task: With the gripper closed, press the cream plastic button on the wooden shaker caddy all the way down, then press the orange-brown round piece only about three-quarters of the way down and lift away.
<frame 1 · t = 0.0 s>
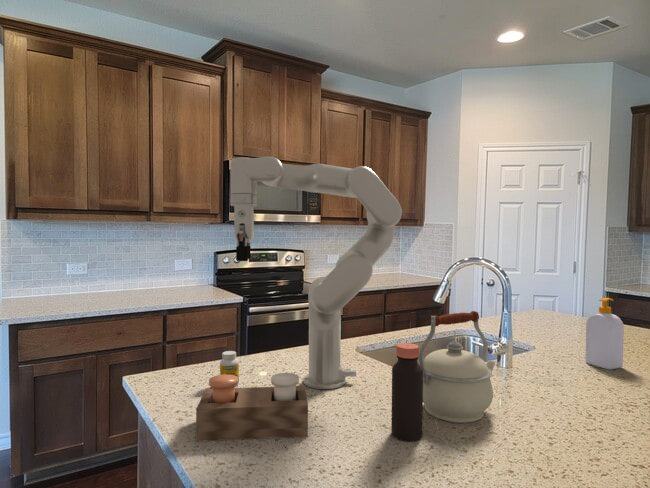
hand: (243, 259, 127), 37 cm above the countertop, tool pointing down, fingers open, 9 cm apart
wooden shaker caddy: (254, 426, 101), on the countertop
vinegar: (406, 435, 97), on the countertop
kettle: (458, 410, 111), on the countertop
cream button: (284, 390, 101), point 8 cm above the countertop, slide at 0.0 cm
soap bottle: (604, 365, 149), on the countertop
supplement bottle: (229, 385, 128), on the countertop
orange-brown round piece: (223, 392, 100), point 8 cm above the countertop, slide at 0.0 cm
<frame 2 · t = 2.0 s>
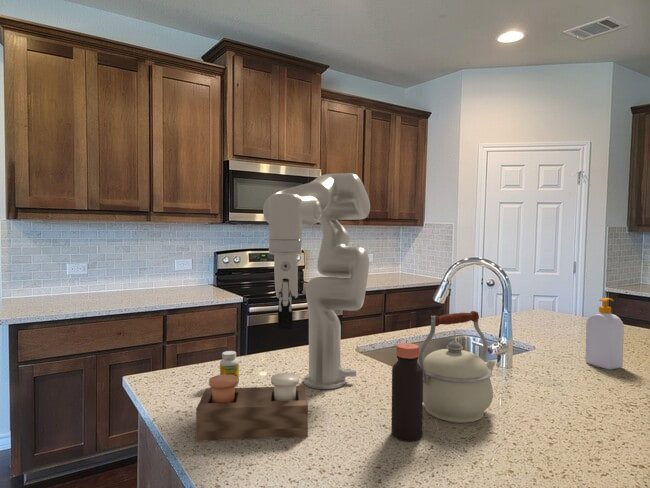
hand: (285, 325, 101), 23 cm above the countertop, tool pointing down, fingers open, 5 cm apart
nothing on the countertop moved.
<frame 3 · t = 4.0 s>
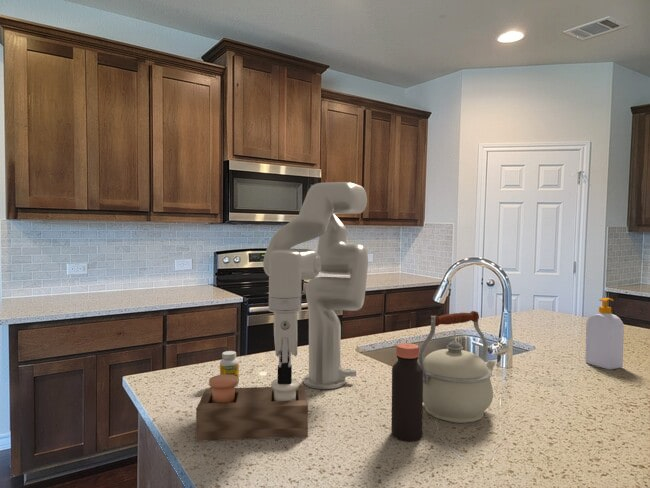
hand: (284, 382, 101), 10 cm above the countertop, tool pointing down, fingers closed
cream button: (284, 395, 101), point 7 cm above the countertop, slide at 1.3 cm, touching gripper
everything else where it was.
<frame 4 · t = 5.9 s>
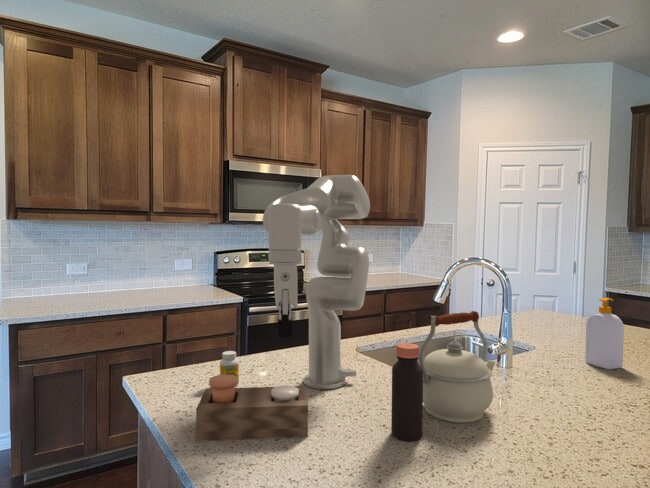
hand: (285, 336, 101), 21 cm above the countertop, tool pointing down, fingers closed
cream button: (284, 403, 101), point 5 cm above the countertop, slide at 3.0 cm
everything else where it was.
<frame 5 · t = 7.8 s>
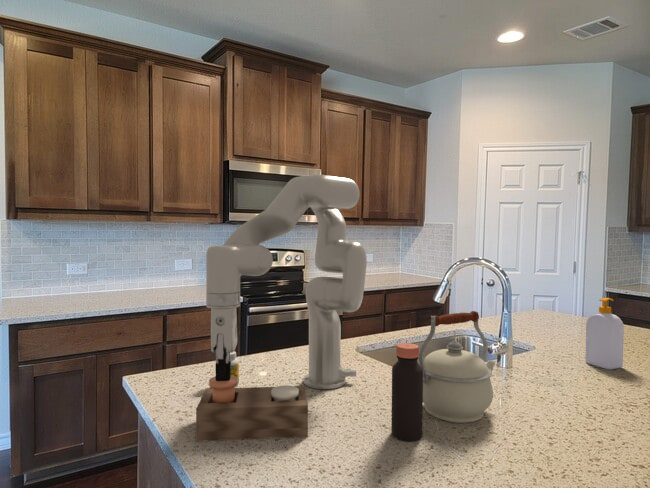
hand: (223, 379, 100), 11 cm above the countertop, tool pointing down, fingers closed
orange-brown round piece: (223, 392, 100), point 8 cm above the countertop, slide at 0.1 cm, touching gripper
everything else where it was.
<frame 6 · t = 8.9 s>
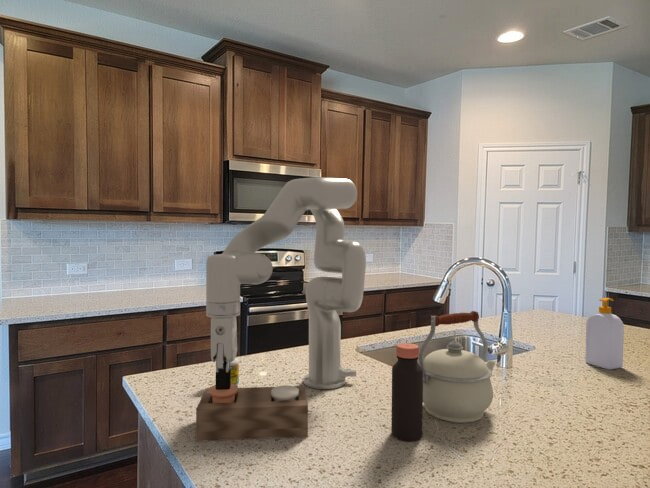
hand: (223, 388, 100), 9 cm above the countertop, tool pointing down, fingers closed
orange-brown round piece: (223, 401, 100), point 6 cm above the countertop, slide at 2.1 cm, touching gripper
everything else where it was.
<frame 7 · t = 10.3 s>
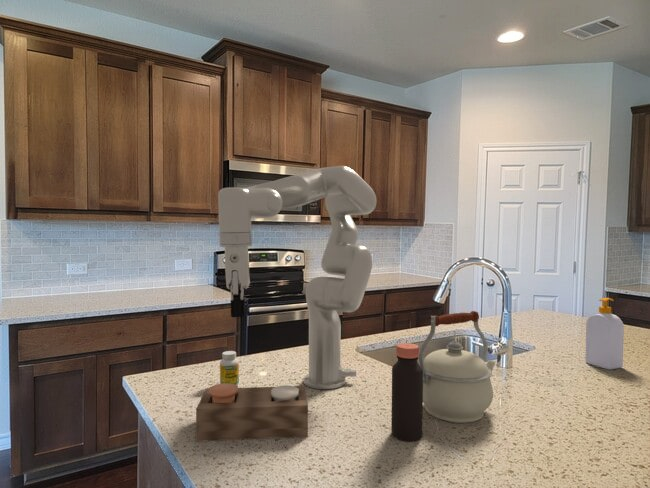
hand: (238, 316, 105), 25 cm above the countertop, tool pointing down, fingers closed
orange-brown round piece: (223, 401, 100), point 6 cm above the countertop, slide at 2.1 cm
everything else where it was.
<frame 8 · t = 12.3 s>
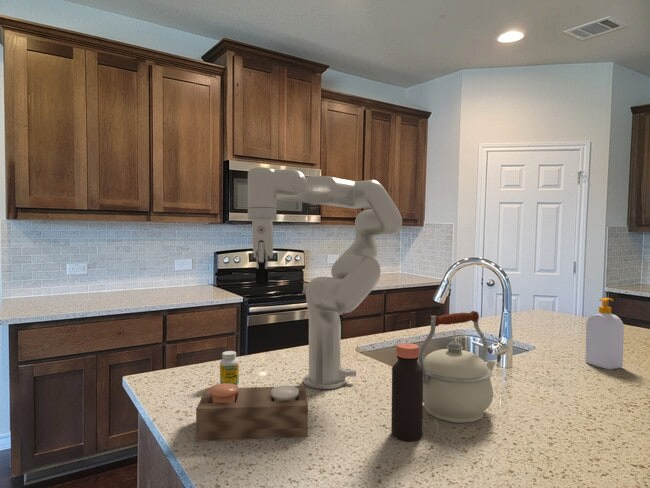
hand: (262, 284, 116), 31 cm above the countertop, tool pointing down, fingers closed
nothing on the countertop moved.
at the end: cream button slide at 3.0 cm; orange-brown round piece slide at 2.1 cm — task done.
